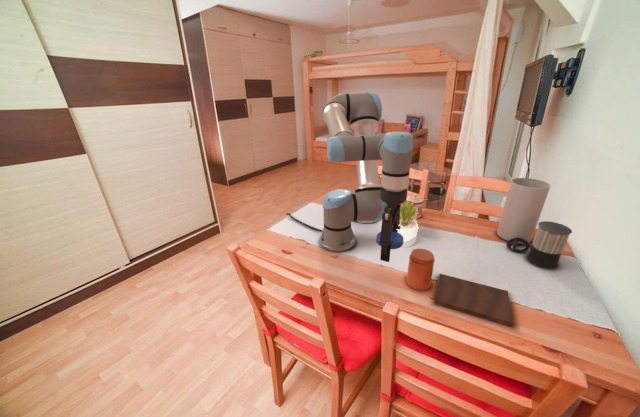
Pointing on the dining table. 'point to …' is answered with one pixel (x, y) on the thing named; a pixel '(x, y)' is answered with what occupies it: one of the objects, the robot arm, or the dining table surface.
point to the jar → (420, 269)
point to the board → (474, 299)
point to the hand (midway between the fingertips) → (388, 253)
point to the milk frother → (544, 244)
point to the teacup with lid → (416, 203)
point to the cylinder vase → (522, 208)
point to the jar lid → (392, 240)
